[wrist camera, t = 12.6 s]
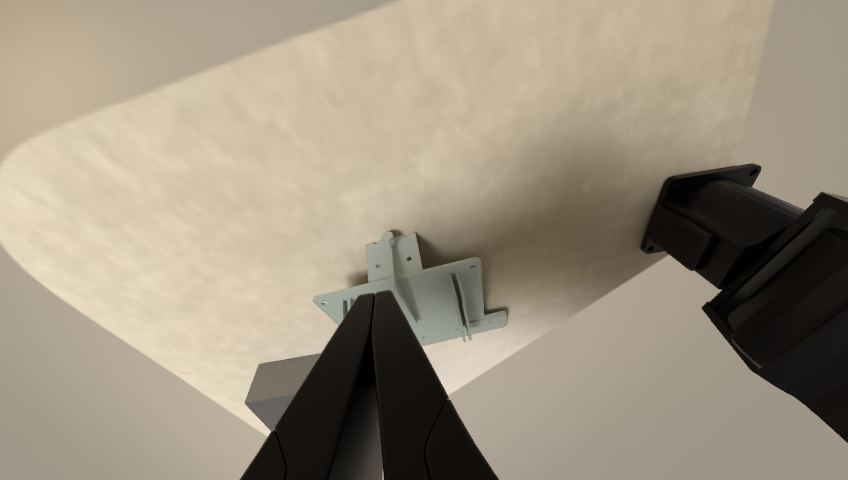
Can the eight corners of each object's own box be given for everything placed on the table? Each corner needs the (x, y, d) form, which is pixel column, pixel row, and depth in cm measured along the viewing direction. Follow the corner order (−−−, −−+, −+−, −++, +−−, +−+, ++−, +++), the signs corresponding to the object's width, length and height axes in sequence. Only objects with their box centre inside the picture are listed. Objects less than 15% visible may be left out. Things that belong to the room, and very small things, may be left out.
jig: (367, 345, 28) (365, 382, 25) (384, 390, 32) (384, 425, 29) (258, 364, 27) (244, 403, 25) (291, 406, 32) (282, 443, 29)
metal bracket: (268, 329, 17) (524, 267, 17) (281, 249, 21) (492, 196, 20) (356, 383, 28) (511, 348, 28) (355, 326, 32) (492, 293, 32)
